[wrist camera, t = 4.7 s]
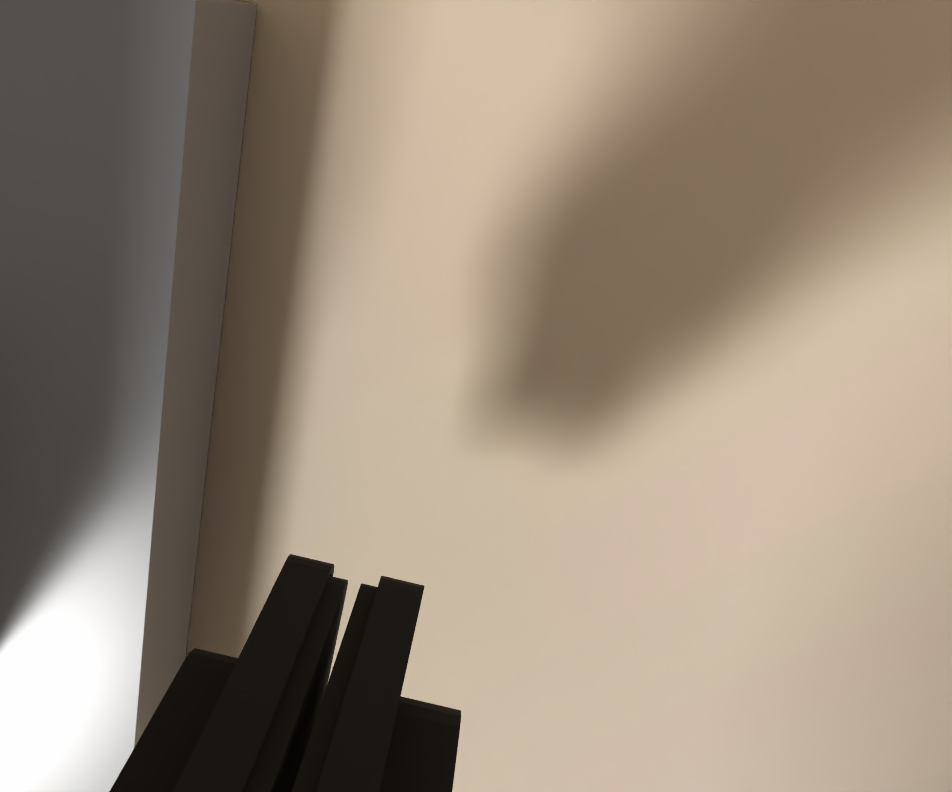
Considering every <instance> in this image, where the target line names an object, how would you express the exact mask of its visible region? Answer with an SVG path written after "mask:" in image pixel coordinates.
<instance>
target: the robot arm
mask: <svg viewBox="0 0 952 792" xmlns="http://www.w3.org/2000/svg"><path fill="white" fill-rule="evenodd" d="M333 573H334V564H330V563H326V562H321V561H317V560H313V559H309V558H305V557H300V556H296V555H292V554H290V555H289V556H288V558H287V560H286V562H285V564H284V566H283V568H282V570H281V572H280V574H279V576H278V578H277V580H276V582H275V584H274V586H273V588H272V590H271V592H270V594H269V596H268V599H267V601H266V603H265V605H264V607H263V609H262V611H261V613H260V615H259V617H258V619H257V621H256V623H255V625H254V627H253V629H252V631H251V633H250V635H249V637H248V640H247V642H246V644H245V646H244V648H243V650H242V652H241V654H240V656H239V658H234V657H230V656H226V655H221V654H217V653H213V652H209V651H204V650H200V649H196V648H195V649H193V650H192V651H191V652H190V653H189V654H188V656H187V657H186V659H185V660H184V662H183V663H182V665H181V667H180V669H179V670H178V672H177V674H176V676H175V677H174V679H173V681H172V683H171V685H170V686H169V688H168V690H167V692H166V693H165V695H164V697H163V699H162V700H161V702H160V704H159V706H158V707H157V709H156V711H155V713H154V714H153V716H152V718H151V720H150V721H149V723H148V725H147V727H146V728H145V730H144V732H143V734H142V735H141V737H140V739H139V741H138V742H137V744H136V746H135V748H134V749H133V751H132V753H131V755H130V756H129V758H128V760H127V762H126V763H125V765H124V767H123V769H122V770H121V772H120V774H119V776H118V777H117V779H116V781H115V783H114V784H113V786H112V788H111V790H110V791H109V792H452V787H453V779H454V771H455V763H456V755H457V747H458V739H459V731H460V722H461V711H460V710H456V709H452V708H448V707H443V706H439V705H435V704H430V703H426V702H422V701H418V700H413V699H409V698H405V697H401V696H400V695H401V691H402V686H403V682H404V677H405V672H406V668H407V663H408V659H409V654H410V650H411V645H412V641H413V636H414V631H415V627H416V622H417V618H418V613H419V609H420V604H421V599H422V595H423V590H424V586H423V585H418V584H414V583H410V582H406V581H402V580H397V579H393V578H389V577H385V576H381V579H380V582H379V585H378V587H374V586H370V585H366V584H361V586H360V589H359V592H358V595H357V598H356V601H355V604H354V607H353V610H352V613H351V616H350V619H349V622H348V625H347V628H346V631H345V634H344V637H343V640H342V643H341V646H340V649H339V652H338V655H337V658H336V661H335V664H334V667H333V670H332V673H331V676H330V679H329V674H330V669H331V664H332V659H333V654H334V649H335V644H336V640H337V635H338V630H339V625H340V620H341V615H342V610H343V605H344V600H345V595H346V591H347V585H348V580H345V579H340V578H336V577H333ZM328 679H329V682H328ZM327 684H328V685H327Z"/></svg>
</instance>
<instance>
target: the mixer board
mask: <svg viewBox="0 0 952 792" xmlns="http://www.w3.org/2000/svg"><path fill="white" fill-rule="evenodd" d="M256 12H257V5H256V4H252V3H248V2H244V1H240V0H0V792H109V791H110V790H111V788H112V786H113V784H114V783H115V781H116V779H117V777H118V776H119V774H120V772H121V770H122V769H123V767H124V765H125V763H126V762H127V760H128V758H129V756H130V755H131V753H132V751H133V749H134V748H135V746H136V744H137V742H138V741H139V739H140V737H141V735H142V734H143V732H144V730H145V728H146V727H147V725H148V723H149V721H150V720H151V718H152V716H153V714H154V713H155V711H156V709H157V707H158V706H159V704H160V702H161V700H162V699H163V697H164V695H165V693H166V692H167V690H168V688H169V686H170V685H171V683H172V681H173V679H174V677H175V676H176V674H177V672H178V670H179V669H180V667H181V665H182V663H183V662H184V660H185V659H186V650H187V640H188V631H189V622H190V613H191V604H192V595H193V586H194V577H195V568H196V559H197V549H198V540H199V531H200V522H201V513H202V504H203V495H204V486H205V477H206V468H207V458H208V449H209V440H210V431H211V422H212V413H213V404H214V395H215V386H216V376H217V367H218V358H219V349H220V340H221V331H222V322H223V313H224V304H225V295H226V285H227V276H228V267H229V258H230V249H231V240H232V231H233V222H234V213H235V203H236V194H237V185H238V176H239V167H240V158H241V149H242V140H243V131H244V122H245V112H246V103H247V94H248V85H249V76H250V67H251V58H252V49H253V40H254V31H255V21H256Z"/></svg>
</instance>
